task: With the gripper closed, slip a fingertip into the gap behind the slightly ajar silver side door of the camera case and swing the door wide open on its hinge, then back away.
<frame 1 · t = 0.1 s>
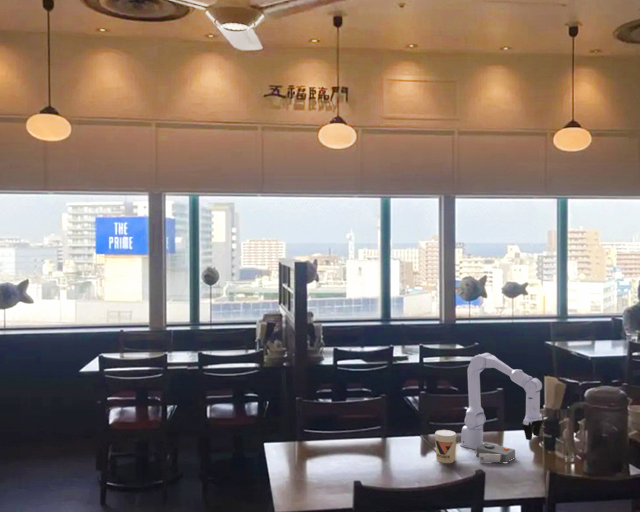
hand: (532, 437, 276), 10 cm above the table, tool pointing down, fingers open, 7 cm apart
coffee cup: (445, 460, 277), on the table
side door: (490, 458, 273), point 2 cm above the table, hinge at 35.0°
camera case: (495, 457, 280), on the table
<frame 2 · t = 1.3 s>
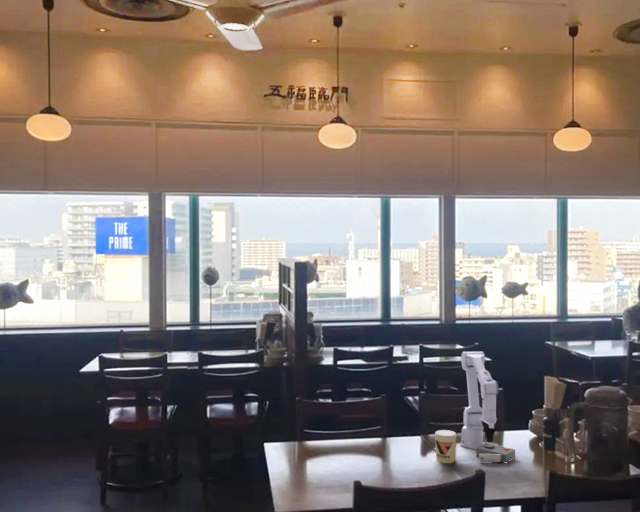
hand: (488, 440, 275), 9 cm above the table, tool pointing down, fingers open, 4 cm apart
nothing on the table moved.
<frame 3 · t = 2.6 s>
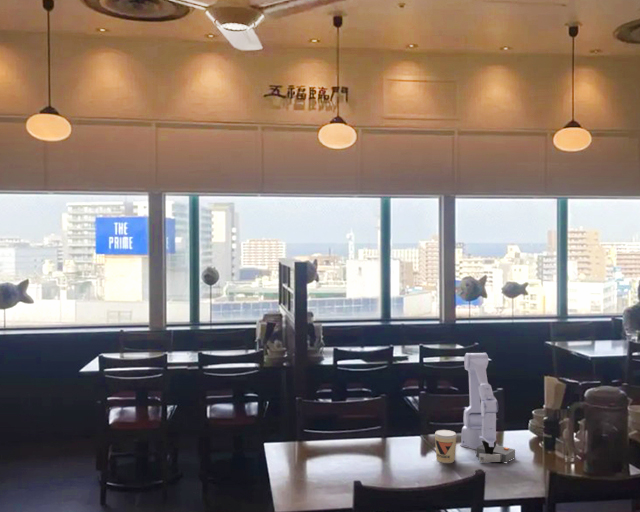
hand: (488, 458, 275), 1 cm above the table, tool pointing down, fingers closed
nothing on the table moved.
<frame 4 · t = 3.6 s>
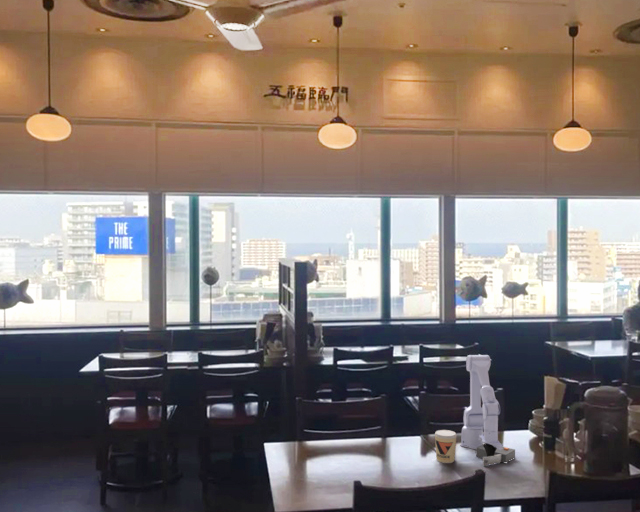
hand: (490, 461, 272), 1 cm above the table, tool pointing down, fingers closed, pressing on side door
side door: (492, 460, 271), point 2 cm above the table, hinge at 63.0°, touching gripper
everything else where it was.
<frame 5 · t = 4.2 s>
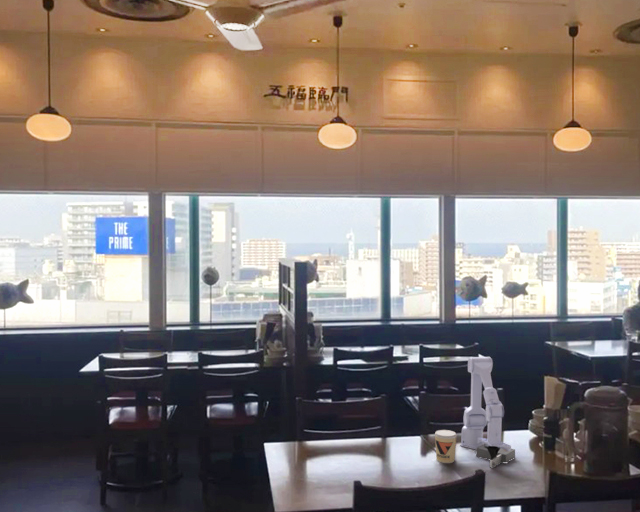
hand: (493, 463, 270), 1 cm above the table, tool pointing down, fingers closed, pressing on side door
side door: (496, 461, 269), point 2 cm above the table, hinge at 89.3°, touching gripper
everything else where it was.
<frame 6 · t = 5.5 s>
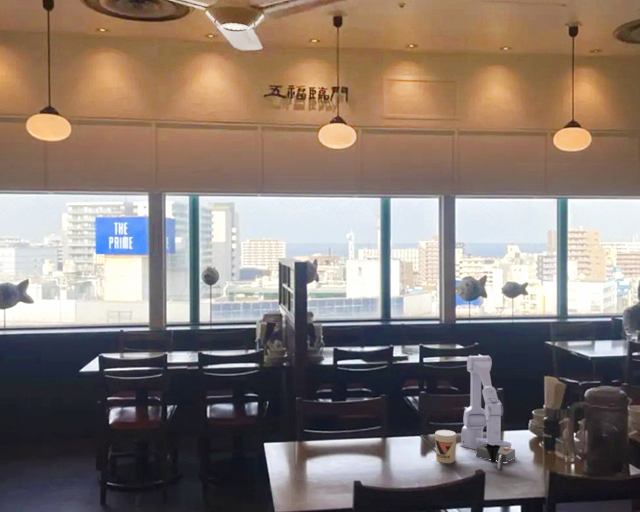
hand: (493, 462, 270), 1 cm above the table, tool pointing down, fingers closed
side door: (500, 461, 268), point 2 cm above the table, hinge at 110.2°
everything else where it was.
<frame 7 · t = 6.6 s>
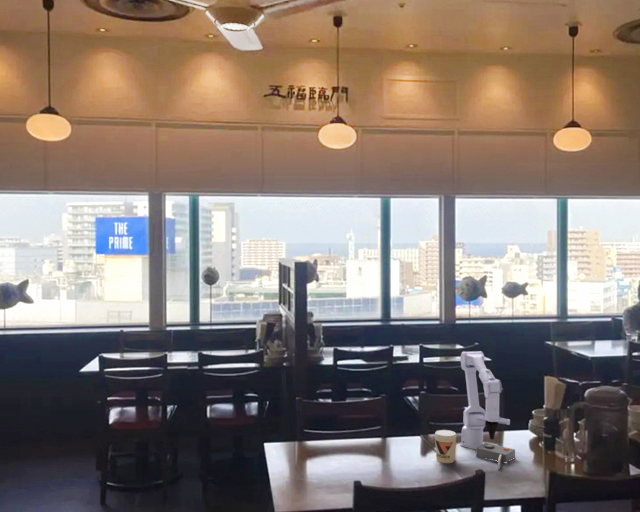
hand: (492, 438, 275), 10 cm above the table, tool pointing down, fingers closed
nothing on the table moved.
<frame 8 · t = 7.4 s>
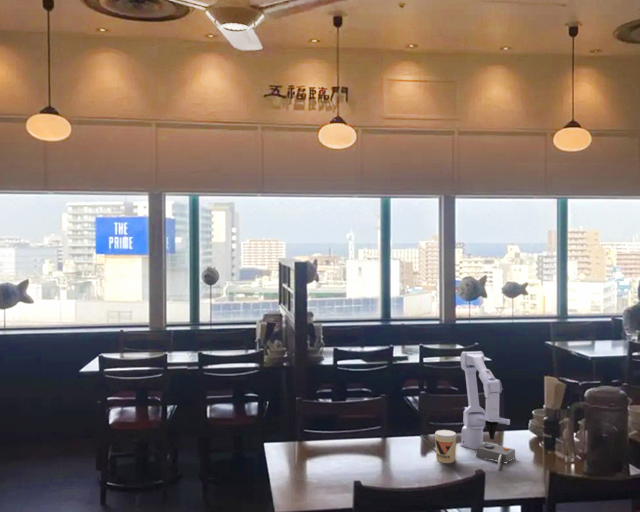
hand: (492, 438, 275), 10 cm above the table, tool pointing down, fingers closed
nothing on the table moved.
at the end: side door at +110° (first picture: +35°) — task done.
